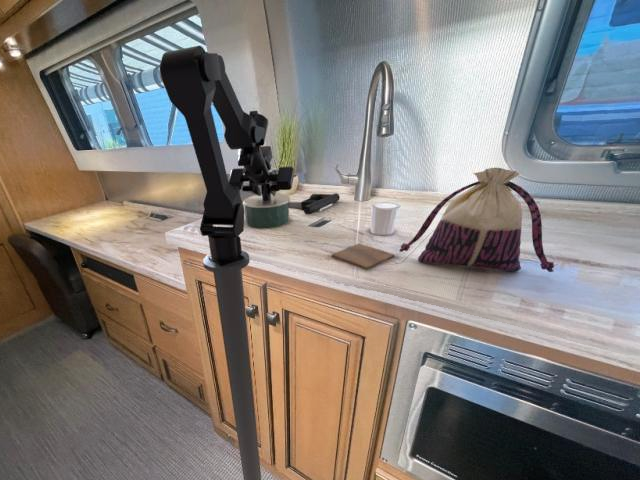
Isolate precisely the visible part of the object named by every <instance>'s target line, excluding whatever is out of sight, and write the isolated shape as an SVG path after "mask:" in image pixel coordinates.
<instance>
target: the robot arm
mask: <svg viewBox="0 0 640 480" xmlns="http://www.w3.org/2000/svg"><path fill="white" fill-rule="evenodd" d="M225 66H226V64H225V60H224V58H223V56H222V55H220V54H219V53H215V52H214V53H213V52H208V51H206V50H205V49H204V46H202V45H195V46H190V47H185V48H180V49H175V50H174V49H173V50H171V51H165V52H164V53H163V54H162V56H161V61H160V63H159V66H158V72H159V77H160V81H161V83H162V85H163V87H164V89H165V92H166V94H167V97H168V99H169V101H170V103H171V104H172V105H173V106H174V107H175V108H176V109H177V110H178V112H179V113H180V114H181V115H182V116H183V117H184V119H185V123H186V126H187V129H188V133H189V136H190V140H191V143H192V147H193V149H194V153H195V156H196V160H197V164H198V166H199V170H200V173H201V176H202V180H203V183H204V186H205V190H206V194H205V197H204V199H203V213H202V218H201V222H200V226H199V231H200V234H201V236H202V237H205V236H206V237H207V238H208V245H209V252H210V253H211V255H210V256H208V259H210V260H212V261H213V262H215V263H217V264H218V265H220V266H224V265H227V264H229V263H232V262H235V261H238V260H241V259H244V256H243V255H241V253H242V251H243V250H242V242H241V241H242V240H241V236H240V235H241V234H242V233H243V232H244V230H245V205H244V204H243V200H242V196H241V190H242V192H245V193H249V194H253V195H254V196H261V195H262V191H261V189H260V188H261V187H260V186H261V185H266V184H270V192H271V194H272V195H273V196H275V194H277V192H280V191H290V190H291V189H292V188H293V183H294V179H295V168H294V167H293V166H279V167H278V169H273V170H272V163H271V162H272V159H273V151H272V146H271V145H266V146H265V141H266V137H267V131H268V127H269V119H268V118H267V117H266V116H265V115H264V114H261V113H259V112H258V110H250V111H249V113H247V112H246V111H244V110H243V108H242V106H241V104H240V101H239V99H238V96H237V95H236V92H235V90H234V88H233V86H232V83H231V81H230V79H229V77H228V76H229V75H228V74H227V72H226V67H225ZM212 106H213V107H214V109H215V112H216V113H217V115H218V117H219V118H220V121H221V122H222V124H223V126H224V133H223V137H224V140H225V143H226V145H227V146H228V148H229V149H230V150H237V156H238V159H237V166H238V168H232V169H231V170H230V174H229V178H228V174H227V170H226V165H225V162H224V157H223V153H222V149H221V144H220V140H219V136H218V132H217V127H216V123H215V118H214V116H213V111H212ZM239 167H240V168H239ZM271 170H272V171H271ZM241 250H242V251H241ZM210 253H209V254H210Z"/></svg>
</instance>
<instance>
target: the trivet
mask: <svg viewBox="0 0 640 480" xmlns="http://www.w3.org/2000/svg"><path fill="white" fill-rule="evenodd" d="M395 256H396V255H395V254H394V253H391V252H388V251H384V250H382V249H379V248H374V247H371V246H368V245H365V244H361V243H357V244H355V245H351V246H349V247H348V248H345V249H342V250H339V251H337V252H335V253H332V254H331V258H334V259H336V260H339V261H342V262H343V263H344V262H345V263H347V264H349V265H353V266H355V267H358V268H360V269H363V270H369V269H371V268H374V267H376V266H377V265H381V264H382V263H384V262H386V261H388V260H391V259H393V258H395Z"/></svg>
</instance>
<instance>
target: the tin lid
mask: <svg viewBox="0 0 640 480" xmlns="http://www.w3.org/2000/svg"><path fill="white" fill-rule="evenodd" d="M270 186H271V183H270V184H266V185H260V188H261V189H260V191H261V196H257V195H252V196H249V197H247V198H245V199H244V200H242V204H243V206H244V207H245V206H248V207H254V208H267V207H276V206H280V205H284V204H286V203H288V202H291V197H290V196H289V195H286V194H281V193H276V194H275V196H273V195H272V194H271V192H270Z"/></svg>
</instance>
